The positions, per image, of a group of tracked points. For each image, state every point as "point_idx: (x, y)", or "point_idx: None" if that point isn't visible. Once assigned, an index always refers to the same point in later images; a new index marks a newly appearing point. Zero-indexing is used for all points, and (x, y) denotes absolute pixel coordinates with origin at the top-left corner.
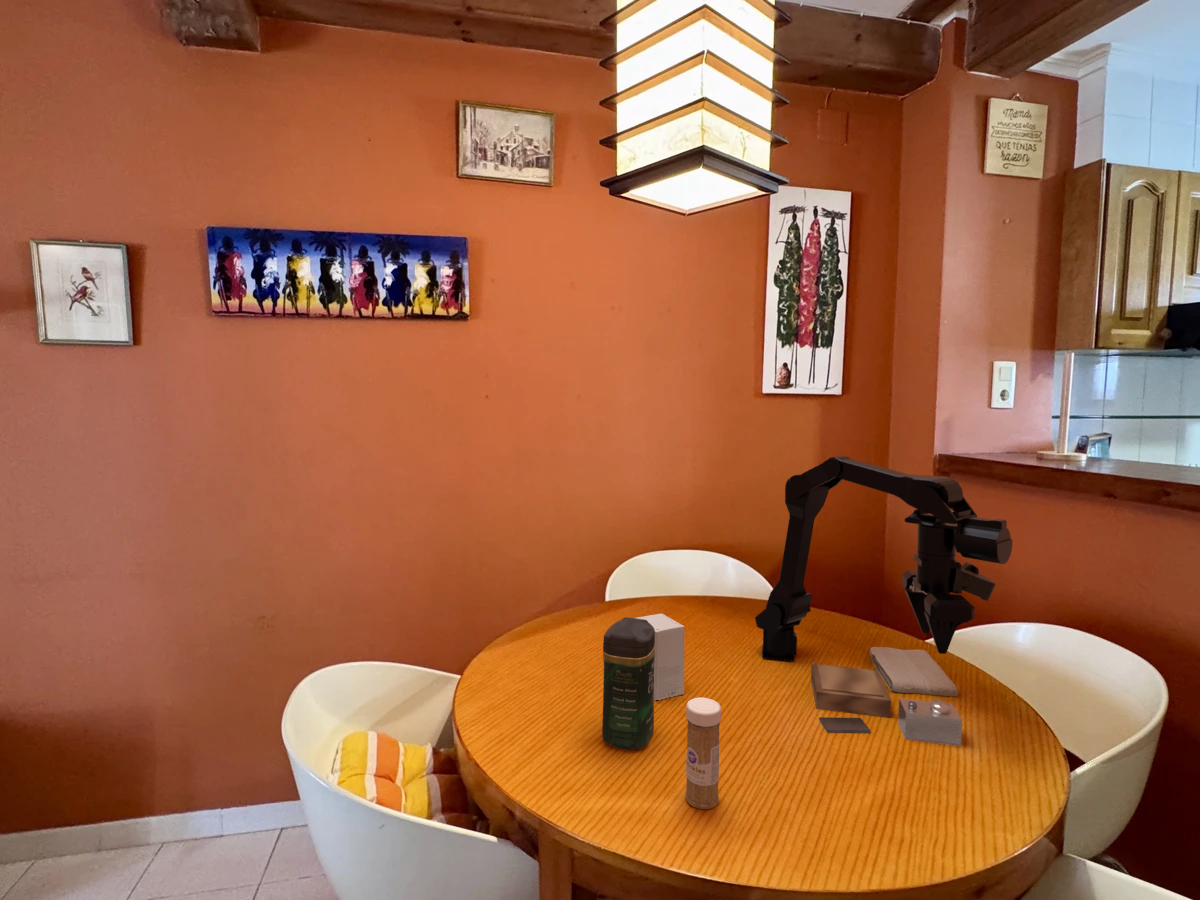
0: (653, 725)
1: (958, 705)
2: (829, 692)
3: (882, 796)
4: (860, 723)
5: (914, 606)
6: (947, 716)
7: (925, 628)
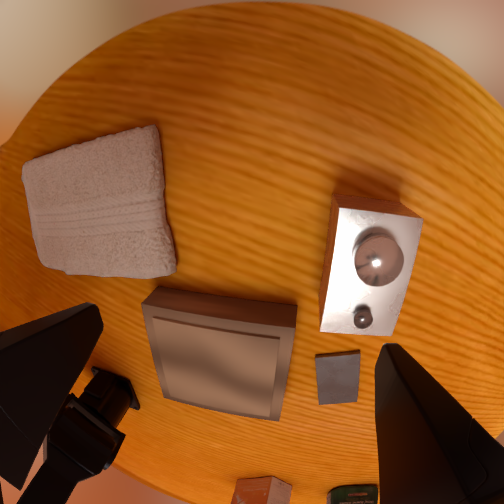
0: (352, 491)
1: (200, 134)
2: (277, 408)
3: (489, 356)
4: (336, 362)
5: (40, 436)
6: (408, 249)
7: (87, 331)
